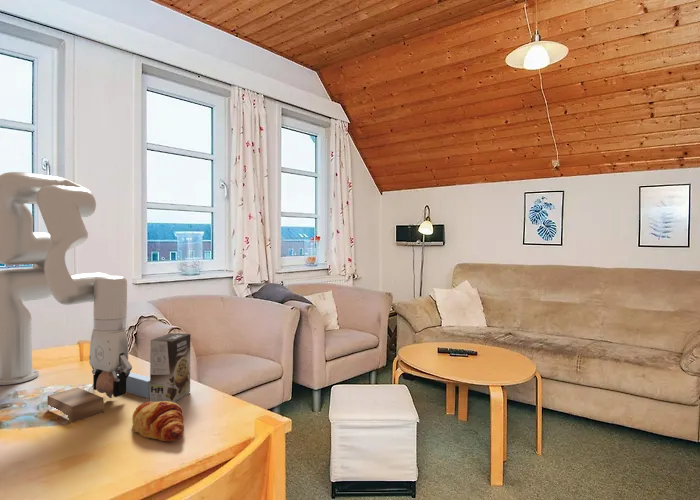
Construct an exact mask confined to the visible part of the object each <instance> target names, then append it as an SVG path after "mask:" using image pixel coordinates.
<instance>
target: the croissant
mask: <svg viewBox="0 0 700 500" xmlns="http://www.w3.org/2000/svg"><path fill="white" fill-rule="evenodd" d="M184 421H185V419H184V415H183V408H182V407H181V406H180V405H179V404H178V403H176V402H169V401H159V402H150V401H146V402H143V403H141V404H138V406H137V407H136V408H135V410H134V411H133V414H132V424H133V425H132V432H134V433H138V434H140V436H142V437H144V438H148V439H154V440H158V441H162V442H174V441H176V440H179V439H180V438H181V437H182V436H183V433H184V431H185V423H184Z"/></svg>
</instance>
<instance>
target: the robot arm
mask: <svg viewBox="0 0 700 500" xmlns="http://www.w3.org/2000/svg"><path fill="white" fill-rule="evenodd" d="M26 204H28V205H37V206H38V209H39V211H40V214H41V217H42V219H43V222H44V224H45V227H46V230H47V232H44V231H41V232H40V231H34V229H33V226H34V218H33V215H32V212H31V211H30V209H29V208H28V206H27V205H26ZM96 208H97V202H96V198H95V196H94V194H93V193H92V192H91V191H90V190H89V189H88V188H86V187H84V186H82V185H80V184H79V183H78V184H77V183H75V182H73V181H71V180H69V179H67V178H65V177H60V176H56V175H46V174H40V173H33V172H22V171H21V172H20V171H19V172H18V171H10V172H9V171H8V172H4V173H2V174H0V264H1V265H5V266H22V265H24V266H25V265H32V268H31V267H30V268H15V269H14V268H13V269H3V270H0V386H8V385H15V384H21V383H25V382H28V381H31V380H33V379H36V378H37V377H38V376H39V374H40V373H39V370H38V369H36V368H33V322H32V321H33V317H32V313H31V312H30V310H29V309H28V308H27V307H26V306H25V305H24V302H29V301H36V300H43V299H44V300H45V299H49V298H50V297H52V296H53V298H54V299H55V300H56V301H57V302H58V303H59V304H61V305H65V306H71V305H78V304H85V303H93V328H92V331H91V336H90V337H91V338H90V342H89V343H90V345H89V356H88V359H89V366H90V367H91V369H92V370H91V372H92V375H93V379H92V380H93V381H92V382H93V383H92V385H93V386H92V388H93V390H94V391H97V389H96V382H97V379H98V377H99V375H100V374H101V372H102V371H105V372H113V375H114V378H115V381H113V395H112V398H119V397H122V396H125V395H126V394H127V392H126V379H128V376H129V374H130V372H131V371H132V369H133V365H132V364H131V362H130V361H129V343H128V342H129V341H128V333H127V328H128V326H127V323H128V322H127V321H128V320H127V317H128V316H127V315H128V280H127V279H126V277H125V276H121V275H112V274H111V275H110V274H108V273H104V272H87V273H74V274H70V272H69V269H68V267H67V264H66V259H65V258H66V253H67V252H68V251H70V250H72V249H74V248H76V247H78V246H80V245H81V244H83V243H84V242H85V241H87V239H88V236H89V233H88V231H87V228H86V225H85V223H84V221H83V218H89V217H91V216H92V215H93V214H95V212H96ZM117 367H119V368H117ZM118 371H121V373H120V374H119V375H118Z"/></svg>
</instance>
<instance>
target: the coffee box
mask: <svg viewBox="0 0 700 500" xmlns="http://www.w3.org/2000/svg"><path fill="white" fill-rule="evenodd" d="M149 357H150V359H149V360H150V361H149V363H150V364H149V366H150V367H149V372H150V373H149V377H150V398H149V402H159V401H169V402H175V403H176V402H177V401H178V400H180V398H181V399H182V398H184V397H185V396H187V395H188V393H189V392H190V393H191V334H190V333H171V332H170V333H167V334H165V335H161V336H159V337H156V338H153V339H150V355H149ZM190 393H189V394H190ZM186 394H187V395H186ZM183 396H184V397H183Z"/></svg>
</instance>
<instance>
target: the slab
mask: <svg viewBox="0 0 700 500" xmlns="http://www.w3.org/2000/svg"><path fill="white" fill-rule="evenodd" d="M48 405H50V406H51V407H54V408H56V409H58V410H60V411H62V412H63V413H64V414H66V415H68V418H69V422H70V423H73V424H74V423H76V422H79V421H84V420H86V419H89V418H92V417H95V416H99V415H101V414H104V407H105V406H104V397H103V396H100V395H97V394H95V393H93V392H90V391H88V390H85V389H83V388H80V387H75V388H72V389H67V390H64V391H60V392H57V393H52V394H48V395H47V406H48Z"/></svg>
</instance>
